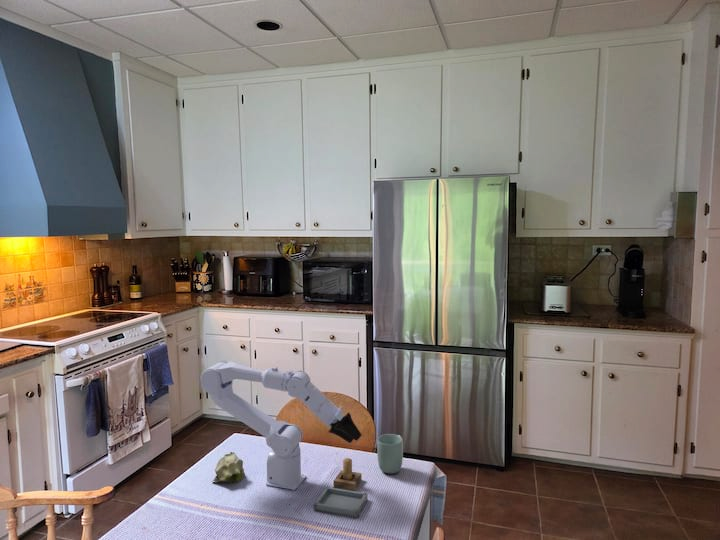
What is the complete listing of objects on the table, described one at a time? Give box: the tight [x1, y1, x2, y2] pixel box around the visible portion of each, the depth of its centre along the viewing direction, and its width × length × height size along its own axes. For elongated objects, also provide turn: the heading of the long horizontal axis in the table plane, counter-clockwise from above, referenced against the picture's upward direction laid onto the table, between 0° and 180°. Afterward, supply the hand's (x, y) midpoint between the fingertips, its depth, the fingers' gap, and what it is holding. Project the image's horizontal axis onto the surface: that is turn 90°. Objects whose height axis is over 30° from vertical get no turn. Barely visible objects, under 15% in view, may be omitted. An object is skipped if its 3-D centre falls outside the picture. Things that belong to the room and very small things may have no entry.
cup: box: [376, 433, 404, 475], centre depth 147 cm, size 8×8×10 cm
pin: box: [342, 457, 353, 481], centre depth 140 cm, size 3×3×7 cm
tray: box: [313, 486, 368, 519], centre depth 129 cm, size 12×9×2 cm
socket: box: [332, 469, 362, 491], centre depth 140 cm, size 6×6×2 cm
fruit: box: [212, 451, 246, 484], centre depth 143 cm, size 9×9×8 cm
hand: (355, 439), depth 136 cm, fingers open, 7 cm apart
